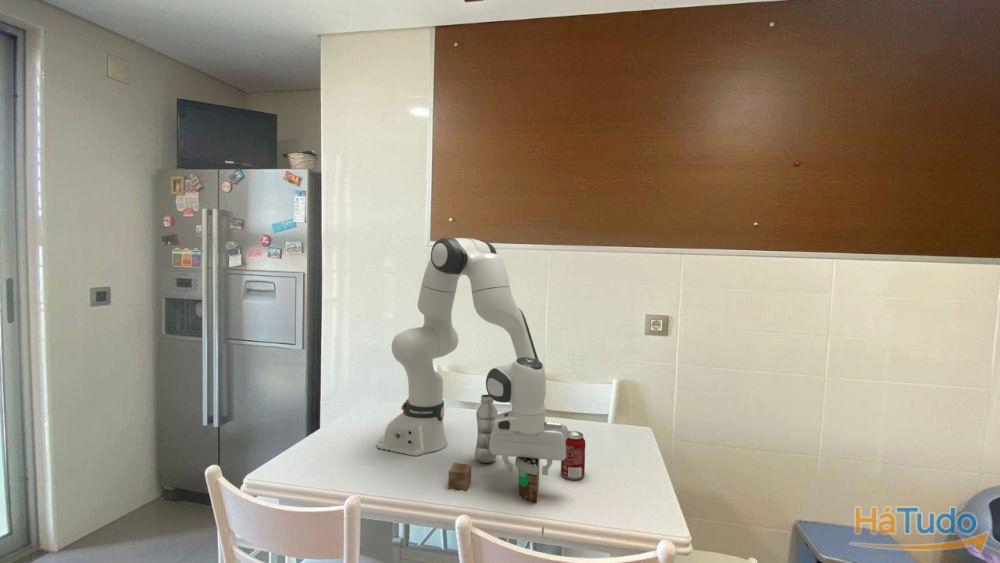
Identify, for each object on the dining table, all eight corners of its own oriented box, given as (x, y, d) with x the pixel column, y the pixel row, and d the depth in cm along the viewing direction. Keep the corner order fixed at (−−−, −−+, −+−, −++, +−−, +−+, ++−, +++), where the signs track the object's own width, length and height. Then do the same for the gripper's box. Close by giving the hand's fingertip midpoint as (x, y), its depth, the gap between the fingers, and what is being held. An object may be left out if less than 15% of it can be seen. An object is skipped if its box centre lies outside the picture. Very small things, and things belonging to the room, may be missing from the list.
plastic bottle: (475, 456, 139) (476, 392, 138) (497, 456, 139) (498, 393, 138) (473, 465, 133) (475, 399, 132) (496, 466, 132) (497, 399, 132)
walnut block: (448, 489, 119) (448, 471, 118) (453, 480, 124) (453, 462, 123) (466, 491, 118) (467, 473, 118) (470, 482, 123) (471, 464, 122)
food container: (516, 480, 124) (517, 445, 124) (539, 482, 123) (539, 446, 123) (511, 504, 112) (512, 464, 112) (536, 506, 111) (537, 466, 111)
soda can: (584, 482, 124) (585, 440, 123) (559, 479, 125) (560, 437, 124) (584, 471, 130) (585, 431, 130) (561, 468, 132) (562, 428, 131)
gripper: (568, 419, 118) (567, 470, 119) (492, 414, 122) (491, 463, 122) (568, 428, 112) (566, 482, 113) (488, 422, 115) (487, 474, 116)
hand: (527, 472), depth 117 cm, fingers open, 8 cm apart
